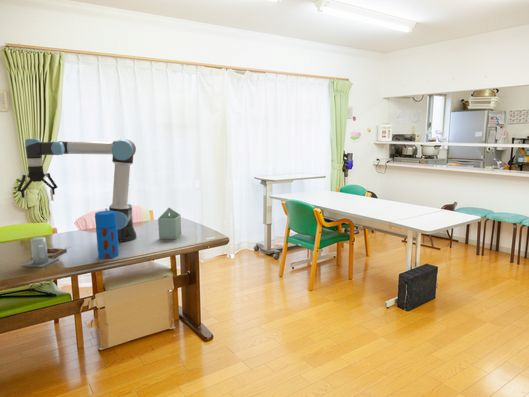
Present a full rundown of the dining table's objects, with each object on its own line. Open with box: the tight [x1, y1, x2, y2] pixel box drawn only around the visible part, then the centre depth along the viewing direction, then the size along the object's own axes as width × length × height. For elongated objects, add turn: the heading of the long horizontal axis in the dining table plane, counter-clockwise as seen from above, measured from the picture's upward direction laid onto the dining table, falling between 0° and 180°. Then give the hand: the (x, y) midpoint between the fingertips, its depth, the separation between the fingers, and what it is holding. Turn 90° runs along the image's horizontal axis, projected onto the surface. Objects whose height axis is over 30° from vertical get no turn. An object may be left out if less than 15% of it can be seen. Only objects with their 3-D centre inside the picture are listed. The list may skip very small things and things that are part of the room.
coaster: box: [21, 258, 59, 268], centre depth 200 cm, size 12×12×1 cm
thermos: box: [94, 210, 120, 260], centre depth 210 cm, size 11×11×25 cm
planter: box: [157, 207, 182, 240], centre depth 246 cm, size 16×8×20 cm, turn 133°
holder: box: [47, 247, 68, 259], centre depth 213 cm, size 12×12×2 cm
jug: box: [29, 236, 49, 264], centre depth 198 cm, size 13×7×13 cm, turn 40°
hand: (39, 201), depth 220 cm, fingers open, 13 cm apart
